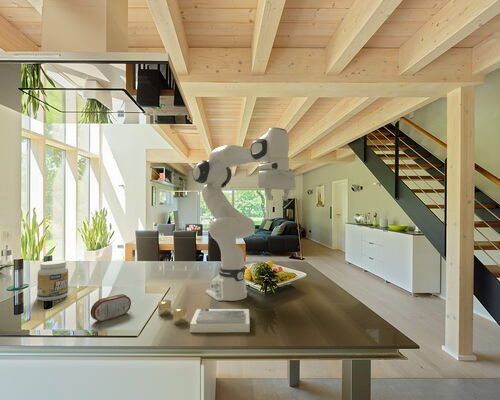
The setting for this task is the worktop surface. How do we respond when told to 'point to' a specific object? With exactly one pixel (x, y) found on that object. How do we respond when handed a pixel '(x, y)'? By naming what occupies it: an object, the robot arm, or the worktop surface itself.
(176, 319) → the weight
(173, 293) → the worktop surface
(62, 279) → the supplement tub
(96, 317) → the tin
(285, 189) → the robot arm
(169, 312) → the weight
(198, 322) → the scale
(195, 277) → the worktop surface
